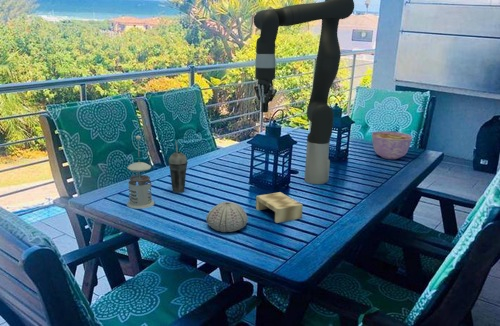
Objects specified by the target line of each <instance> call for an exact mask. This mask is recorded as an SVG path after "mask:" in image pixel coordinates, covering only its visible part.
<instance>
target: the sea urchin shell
mask: <svg viewBox="0 0 500 326" xmlns="http://www.w3.org/2000/svg"><path fill="white" fill-rule="evenodd" d="M205 221H206V223H207V225H208V226H209V227H211V229H214V231H217V232H222V233H227V232H228V233H232V232H237V231H238V230H239V231H240V230H241V229H243V228H244V227H246V225H247V223H248V221H249V220H248V215H247V212H246V211H245V210H244V208H243V207H242V206H241V205H240V204H238V203H235V202H232V201H230V202H229V201H223V202H220V203H218V204H216V205H215V206H213V207H212V208H211V210H209V212H208V214H206V219H205Z"/></svg>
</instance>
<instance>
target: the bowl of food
mask: <svg viewBox="0 0 500 326" xmlns="http://www.w3.org/2000/svg"><path fill="white" fill-rule="evenodd" d="M371 139H372V140H371V141H372V145H373V146H372V147H373V151H374V152H375V153H376V154H377V155H378V156H379V157H381V158H382V159H385V160H398V159H399V158H402V157H404V156H405V155H407V153H408V151H409V148H410V145H411V144H412V140H413V136H412V135H411V134H408V133H404V132H399V131H390V130H382V131H381V130H380V131H373V132H372V133H371Z"/></svg>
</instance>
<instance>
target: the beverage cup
mask: <svg viewBox="0 0 500 326" xmlns="http://www.w3.org/2000/svg"><path fill="white" fill-rule="evenodd" d="M175 151H176V152H173V153H172V154H171V155H170V157H169V158H168V167H169V171H170V181H171V188H172V189H171V190H172V193H174V194H183V193H184V192H185V188H186V187H185V186H186V178H187V177H186V176H187V175H186V174H187V167H188V164H189V163H188V158H187V156H186V155H185V154H184V153H183V152H180V151H178V141H175Z"/></svg>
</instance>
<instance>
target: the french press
mask: <svg viewBox="0 0 500 326" xmlns="http://www.w3.org/2000/svg"><path fill="white" fill-rule="evenodd" d="M141 139H142V137H141V136H140V135H135V140H137V148H138V149H137V150H138V151H137V152H138V156H140V142H139V140H141ZM151 168H152V165H150V164H148V163H146V162H142V161H137V162H133V163H130V164H129V165H128V166H127V170H129V171H132V172H134V173H136V175H132V176H130V177H129V179H128V180H129V181H128V200H129V201H128V202H126V206H127V208H128V207H129V208H131V209H138V210H139V209H140V210H141V209H147V208H151V207H153V206H155V201H154V200H153V199H152V180H151V176H149V175H145V174H141V173H140V172H146V171H149V170H150V169H151Z"/></svg>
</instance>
